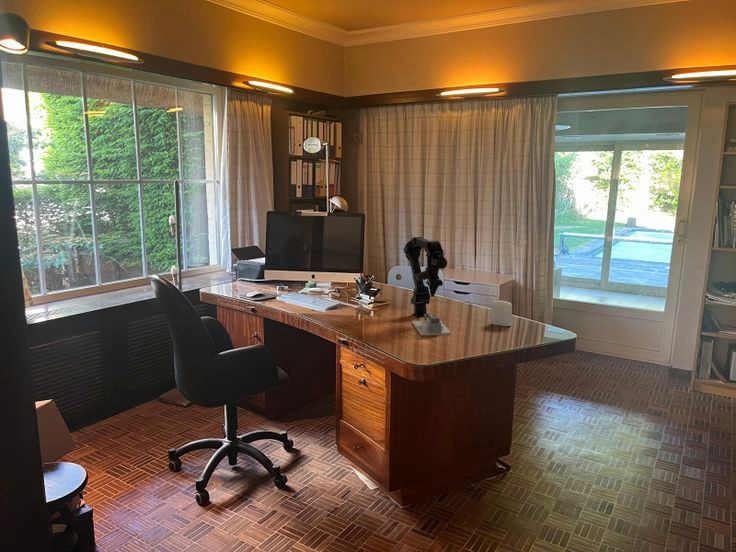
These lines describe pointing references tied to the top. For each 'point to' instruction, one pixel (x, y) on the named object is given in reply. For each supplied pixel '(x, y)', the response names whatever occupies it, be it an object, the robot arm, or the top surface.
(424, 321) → the heatsink board
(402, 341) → the top surface
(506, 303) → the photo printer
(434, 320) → the lever
